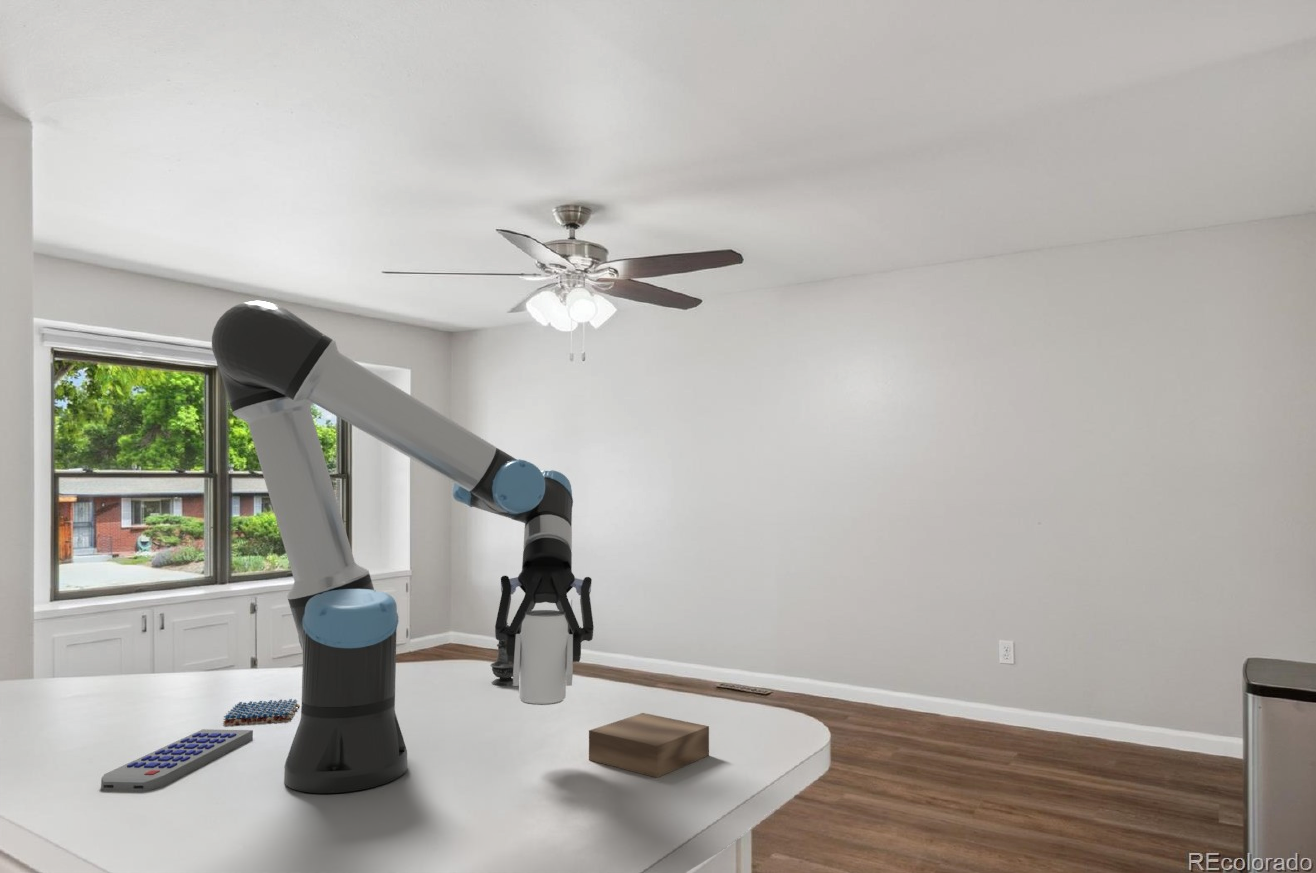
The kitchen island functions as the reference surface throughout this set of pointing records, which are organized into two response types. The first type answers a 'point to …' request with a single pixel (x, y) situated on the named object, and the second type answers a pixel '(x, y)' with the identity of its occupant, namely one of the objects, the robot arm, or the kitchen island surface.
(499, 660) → the salt shaker
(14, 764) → the kitchen island surface
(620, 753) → the walnut stand
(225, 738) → the remote control
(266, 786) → the kitchen island surface
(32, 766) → the kitchen island surface
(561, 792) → the kitchen island surface
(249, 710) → the woven mat
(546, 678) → the can
